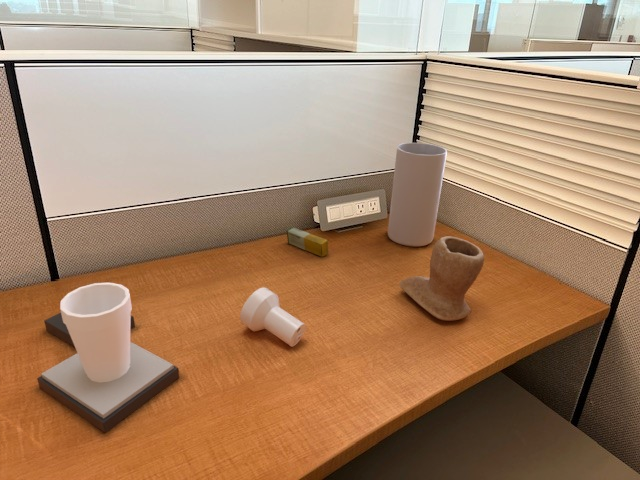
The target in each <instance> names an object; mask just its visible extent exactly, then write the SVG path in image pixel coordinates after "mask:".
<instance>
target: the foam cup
mask: <svg viewBox="0 0 640 480" xmlns="http://www.w3.org/2000/svg"><path fill="white" fill-rule="evenodd" d="M132 306H133V305H132V299H131V295H130V289H129V288H128V287H126V286H124V285H123V284H121V283H114V282H110V281H109V282H94V283H90V284H86V285H83V286H79V287H78V288H76V289H73V290H72V291H70V292H68V293H66V295H65V296H64V297H62V299H61V300H60V303H59V310H60V313H61V315H62V319H63V323H64V324H65V325H66V326H67V329H68V331H69V334H70V336H71V339H72V341H73V343H74V346H75V347H74V348H75V350H76V353H78V356H79V358H80V360H81V363H82V365H83V368H84V370H85V373H86V374H87V377H88V378H89V379H90V380H91V381H95V382H99V383H102V382H110V381H113V380H116V379H118V378H120V377H121V376H123V375H124V374H125V373H127V371H128V369H129V367H130V342H131V330H130V325H131V316H132V311H133V307H132Z"/></svg>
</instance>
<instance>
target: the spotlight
mask: <svg viewBox="0 0 640 480" xmlns="http://www.w3.org/2000/svg"><path fill="white" fill-rule="evenodd" d="M239 320H240V323H241V324H242V325H244V326H245V327H246V328H247V329H249V330H251V331H252V332H254V333H255V332H258V331H262V330H267V331H268V332H269V333H270V334H272V335H274V336H275V337H277V338H279V339H280V340H281V341H282V342H284V343H285V344H287V345H289V346H290V347H291V348H292V347H295V346H296V345H297V344H298V343H299V342H300V341H301V339H302V338H303V337H304V334H305V333H306V330H307V324H306V323H304V322H302V321H301V320H299V319H298V318H297V317H295V316H293V315H292V314H290V313H289V312H287V311H286V310H284V309H283V308H282V307H280V298H279V295H278V294H276V293H275V292H273V291H271V290H270V289H269V288H267V287H265V286H263V287H260V288H257V289H256V290H255V291H254V292H252V294H251V295H249V296H248V298H247V299H246V301H245V302H244V303H243V306H242V308H241V310H240V314H239Z"/></svg>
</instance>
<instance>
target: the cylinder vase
mask: <svg viewBox="0 0 640 480" xmlns="http://www.w3.org/2000/svg"><path fill="white" fill-rule="evenodd" d="M447 154H448V150H447V149H446V148H445V147H442V146H439V145H438V144H437V145H436V144H431V143H424V142H404V143H400V144H398V145H397V146H396V156H395V162H394V171H393V180H392V190H391V198H390V208H389V216H388V226H387V236H388V238H389V239H390V240H391V241H392V242H394V243H396V244H399V245H401V246H405V247H414V248H415V247H416V248H417V247H424V246H427V245H430V244H431V243H432V242H433V240H434V237H435V231H436V225H437V224H436V223H437V219H438V218H437V217H438V213H439V211H438V210H439V205H440V199H441V193H442V186H443V180H444V174H445V168H446V160H447Z"/></svg>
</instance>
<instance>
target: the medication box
mask: <svg viewBox="0 0 640 480" xmlns="http://www.w3.org/2000/svg"><path fill="white" fill-rule="evenodd" d="M286 238H287V244H289V245H292V246H294V247H297V248H299V249H302V250H304V251H307V252H308V253H311V254H314V255H315V256H316V255H317V256H319V257H321V258H323V257H325V256H326V255H327V254H329V247H328V244H329V243H328V242H329V241H328V239H325V238H324V237H323V238H322V237H320V236H318V235H315V234H312V233H309V232H308V231H305V230H302V229H299V228H296V227H294V226H293V227H291V228H289V229H287V230H286Z"/></svg>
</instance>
